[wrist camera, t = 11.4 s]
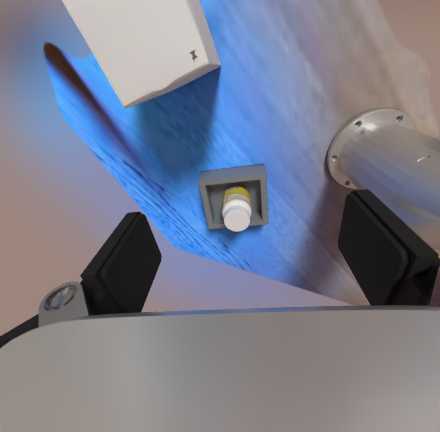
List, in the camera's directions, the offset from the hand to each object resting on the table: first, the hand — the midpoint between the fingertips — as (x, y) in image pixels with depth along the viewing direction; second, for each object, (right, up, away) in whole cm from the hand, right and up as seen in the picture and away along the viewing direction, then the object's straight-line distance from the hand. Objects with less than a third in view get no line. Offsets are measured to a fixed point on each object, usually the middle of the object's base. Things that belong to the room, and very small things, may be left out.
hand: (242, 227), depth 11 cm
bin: (+2, +5, +31) cm, 31 cm away
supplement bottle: (+2, +5, +30) cm, 30 cm away
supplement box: (-7, +24, +19) cm, 31 cm away
